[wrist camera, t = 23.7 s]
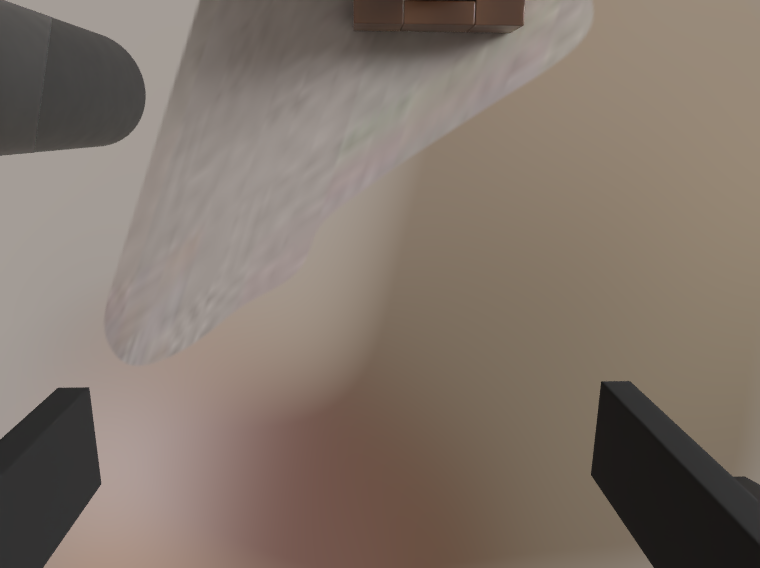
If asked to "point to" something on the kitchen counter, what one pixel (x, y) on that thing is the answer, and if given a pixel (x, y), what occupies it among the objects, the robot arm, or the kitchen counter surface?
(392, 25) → the seat base
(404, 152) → the kitchen counter surface
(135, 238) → the kitchen counter surface
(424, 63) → the kitchen counter surface
